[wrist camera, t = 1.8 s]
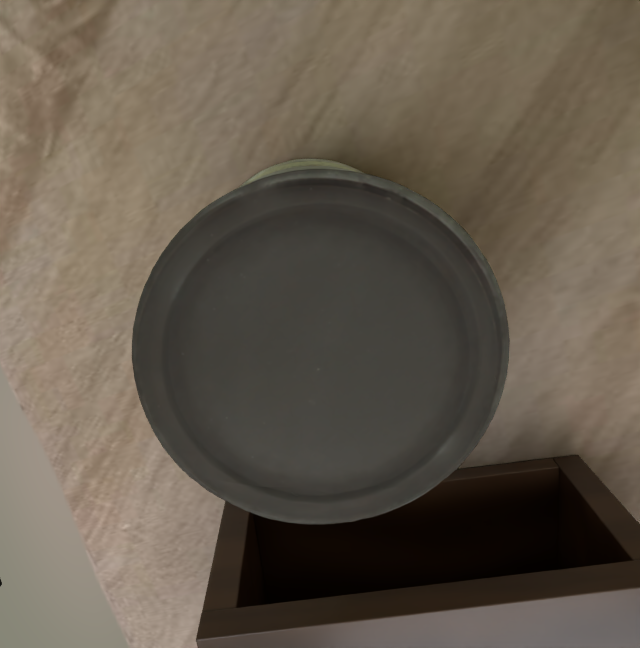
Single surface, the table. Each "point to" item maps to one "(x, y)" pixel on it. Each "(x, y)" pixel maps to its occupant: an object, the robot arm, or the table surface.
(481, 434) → the coffee can
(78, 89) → the table surface
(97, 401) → the table surface
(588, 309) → the table surface
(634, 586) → the wooden keepsake box
